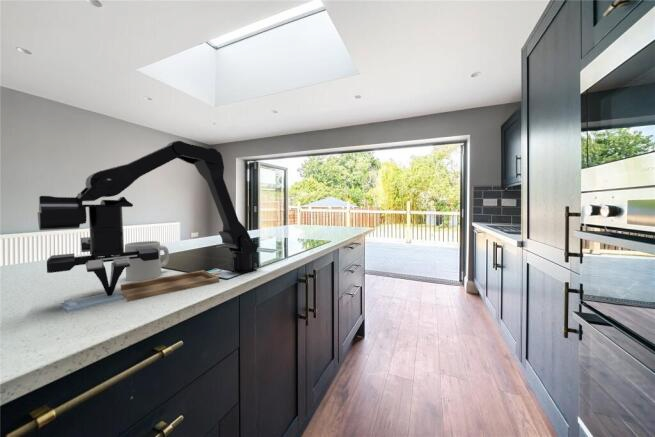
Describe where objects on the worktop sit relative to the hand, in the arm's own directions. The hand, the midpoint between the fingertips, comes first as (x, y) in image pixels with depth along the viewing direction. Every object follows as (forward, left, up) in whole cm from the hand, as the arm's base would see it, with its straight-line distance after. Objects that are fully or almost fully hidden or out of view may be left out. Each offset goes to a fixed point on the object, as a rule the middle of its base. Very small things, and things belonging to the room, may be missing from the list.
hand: (109, 295), depth 59 cm
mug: (-11, -16, -2) cm, 19 cm away
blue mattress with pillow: (+3, +1, -2) cm, 4 cm away
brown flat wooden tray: (-13, 0, -1) cm, 13 cm away
